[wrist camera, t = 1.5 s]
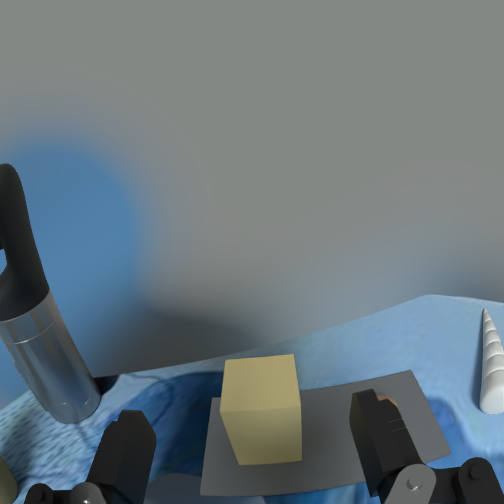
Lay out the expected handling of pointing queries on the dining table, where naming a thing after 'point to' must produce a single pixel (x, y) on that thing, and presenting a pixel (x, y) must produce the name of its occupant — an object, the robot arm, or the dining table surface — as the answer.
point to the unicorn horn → (492, 369)
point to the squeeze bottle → (7, 484)
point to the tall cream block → (262, 409)
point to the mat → (319, 442)
